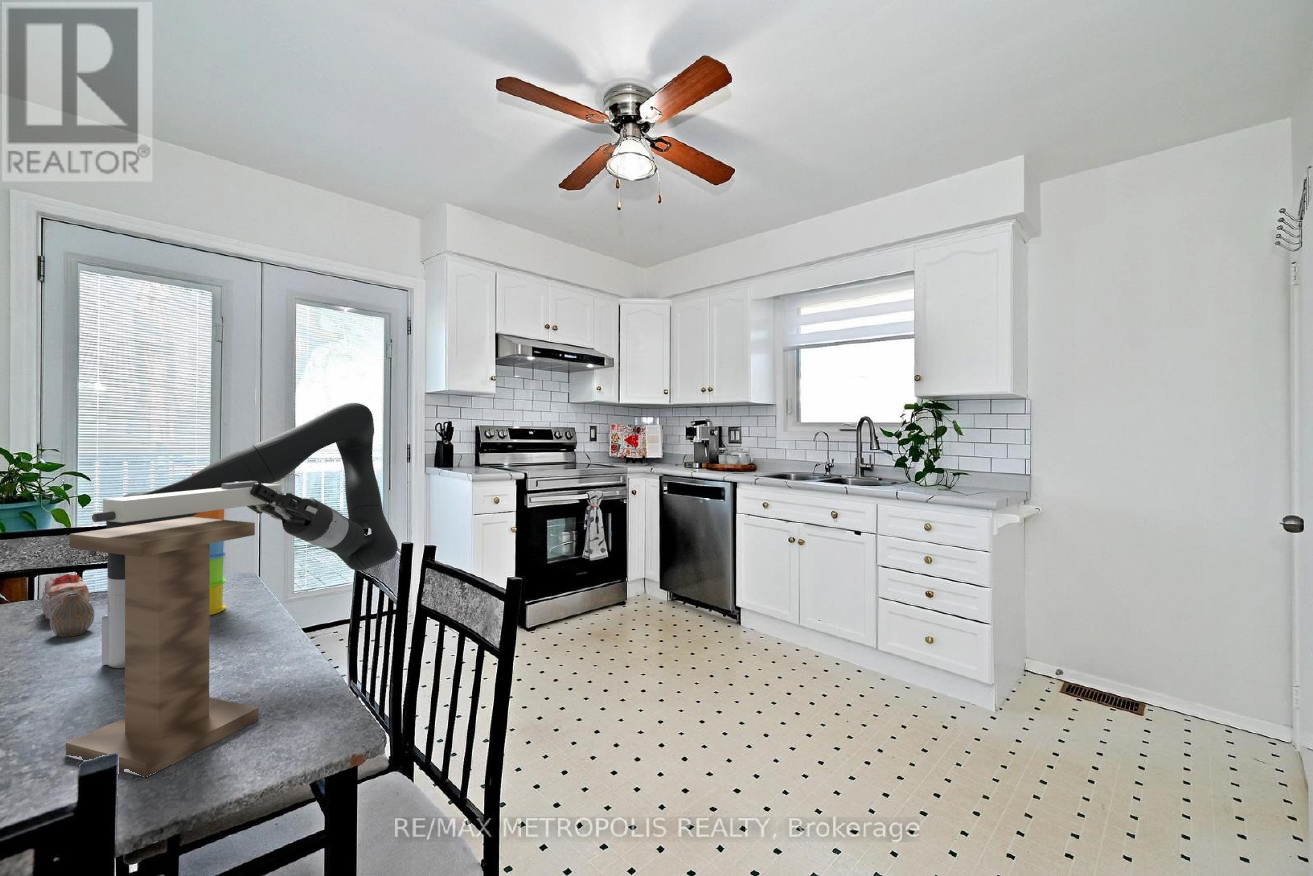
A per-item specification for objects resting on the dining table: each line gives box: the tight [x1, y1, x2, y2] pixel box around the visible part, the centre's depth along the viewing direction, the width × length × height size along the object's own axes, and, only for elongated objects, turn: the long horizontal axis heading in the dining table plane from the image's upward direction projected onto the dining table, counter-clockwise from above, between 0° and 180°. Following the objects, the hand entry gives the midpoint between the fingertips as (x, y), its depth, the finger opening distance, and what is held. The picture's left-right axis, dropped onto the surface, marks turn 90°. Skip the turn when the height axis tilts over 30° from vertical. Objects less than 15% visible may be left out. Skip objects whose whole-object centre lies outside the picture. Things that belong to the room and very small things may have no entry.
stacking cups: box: [191, 472, 227, 616], centre depth 140 cm, size 10×10×35 cm
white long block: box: [91, 481, 282, 523], centre depth 89 cm, size 26×4×4 cm, turn 164°
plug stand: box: [65, 517, 259, 777], centre depth 86 cm, size 16×16×32 cm
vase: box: [49, 593, 96, 638], centre depth 126 cm, size 7×7×9 cm
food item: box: [40, 573, 90, 621], centre depth 137 cm, size 14×8×10 cm, turn 52°
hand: (243, 487), depth 97 cm, fingers closed on white long block, 4 cm apart
